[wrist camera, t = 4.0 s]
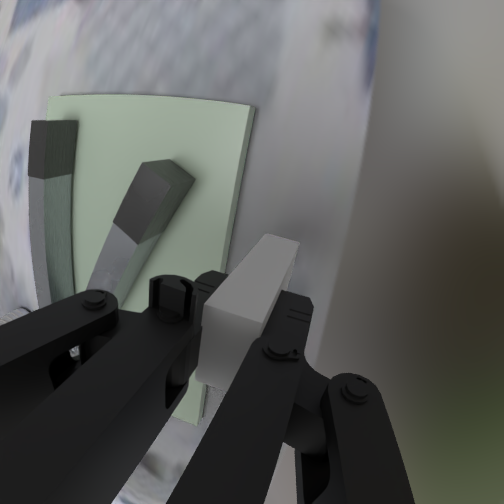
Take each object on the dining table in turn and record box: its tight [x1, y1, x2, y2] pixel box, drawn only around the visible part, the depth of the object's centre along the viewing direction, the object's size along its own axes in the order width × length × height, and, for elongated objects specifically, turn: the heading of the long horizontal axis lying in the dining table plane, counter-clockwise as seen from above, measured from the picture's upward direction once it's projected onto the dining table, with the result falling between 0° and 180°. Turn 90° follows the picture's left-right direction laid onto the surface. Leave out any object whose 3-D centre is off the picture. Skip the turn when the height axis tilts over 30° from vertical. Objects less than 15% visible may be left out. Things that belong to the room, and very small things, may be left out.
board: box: [46, 94, 256, 426], centre depth 22 cm, size 17×26×1 cm, turn 169°
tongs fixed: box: [28, 120, 78, 357], centre depth 21 cm, size 5×24×4 cm, turn 169°
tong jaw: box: [72, 159, 196, 355], centre depth 20 cm, size 2×17×3 cm, turn 144°
